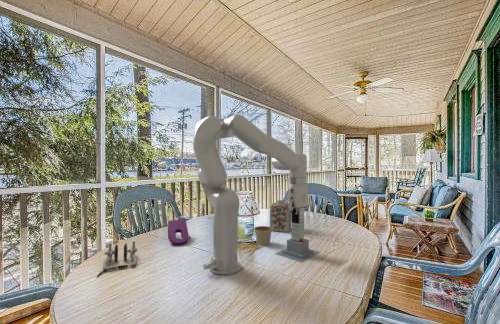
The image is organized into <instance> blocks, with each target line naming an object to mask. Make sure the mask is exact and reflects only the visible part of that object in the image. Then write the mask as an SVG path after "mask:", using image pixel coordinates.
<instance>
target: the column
mask: <svg viewBox="0 0 500 324" xmlns="http://www.w3.org/2000/svg"><path fill="white" fill-rule="evenodd" d="M294 209H295V210H296V208H294ZM291 238H292V240H294V241H298V242H300V241H302V239H305V212H304V207H300V208H298V224H297V223H292V222H291Z"/></svg>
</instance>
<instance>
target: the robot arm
mask: <svg viewBox="0 0 500 324" xmlns="http://www.w3.org/2000/svg"><path fill="white" fill-rule="evenodd" d="M194 127H195V128H194V131H195V133H194V136H193V142H192V145H193V151H194V155H195V158H196V160H197V161H196V162H197V164H198V166H199V169H198V174H197V175H198V176H197V177H198V180H199V181H198V182H199V183H200V186H201V188H202V190H203V193H204V196H205V197H206V199H207V202H208V203H209V204H210V206H211V207H213V208H214V214H213V223H212V224H213V226H212V227H213V229H212V230H213V233H212V234H213V239H212V240H213V242H212V243H213V244H212V245H213V249H212V250H213V253H212V254H213V255H212V256H213V257H211V259H210V261H209V262H208V263H205V264H203V267H202V268H203V270H205V271H206V270H208V269H209V271H210V272H211V273H213V274H216V275H221V276H222V275H227V276H228V275H233V274H236V273H238V272H239V271H241V270H242V263H241V262H240V261H238V249H239V248H238V245H239V244H238V241H239V240H238V239H239V238H238V233H239V232H238V225H239V224H238V220H239V219H238V218H239V212H240V210H239V209H240V197H239V195H238V194H237V192H236V191H235V190H233V189H232V188H228V187H227V186H226V182H227V179H228V174H227V171H226V168H225V166H224V164H223V161H222V159H221V157H220V153H219V152H218V151H219V150H218V147H217V141H218V140H221V139H228V138H234V137H235V138H237V139H238V140H239V141H240V142H242V143H243V144H244V145H246V146H247V147H248V148H250V150H253V152H256V153H259V154H262V155H265V156H269V157H271V160H270V161H271V165H272V167H273V168H274V169H275V170H278V171H279V170H280V171H289V188H288V202H287V203H289V207H288V209H289V210H290V211H291V224H292V223H297V224H298V208H300V207H304V213H306V212H305V211H306V208H307V206H308V205H309V189H308V184H307V182H308V181H307V180H308V179H307V178H308V177H307V175H308V174H307V173H308V172H307V171H308V170H307V169H308V165H307V164H308V162H307V160H308V158H307V155H306V154H305V153H296V152H295V151H294V150H293V149H291V148H290V147H289V145H288V146H287V145H286V144H285V143H283V142H281V141H279V140H278V139H276V138H274V137H272V136H270V135H268V134H266V133H265V132H264V131H262V130H261V129H260V128H258V126H257V125H255V124H254V123H252V121H250V120H249V119H248V118H246V117H245V116H244V115H242V114H237V113H236V114H233V115H231V116H229V117H225V118H224V117H223V118H219V117H217V116H215V115H208V116H206V117H205V116H204V118H202V119H200V120H199V121H198V122H197V123H196V125H195V126H194ZM294 208H296V210H295V209H294Z"/></svg>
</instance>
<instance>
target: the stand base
mask: <svg viewBox="0 0 500 324" xmlns="http://www.w3.org/2000/svg"><path fill="white" fill-rule="evenodd" d="M309 241H310V240H309V239H308V238H307V239H306V238H304V239H302V241H300V242H298V241H294V240H292V237H291V238H289V239H286V248H284V249H283V250H280V251H278V252H276V253H274V255H277V256H279V257H283V258H286V259H290V260H293V261H297V262H300V263H304V262H305V261H308V260H309V259H312V258H313V257H314V256H316V255H318V254H321V251H319V250H314V249H310V248H309V246H310V242H309Z"/></svg>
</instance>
